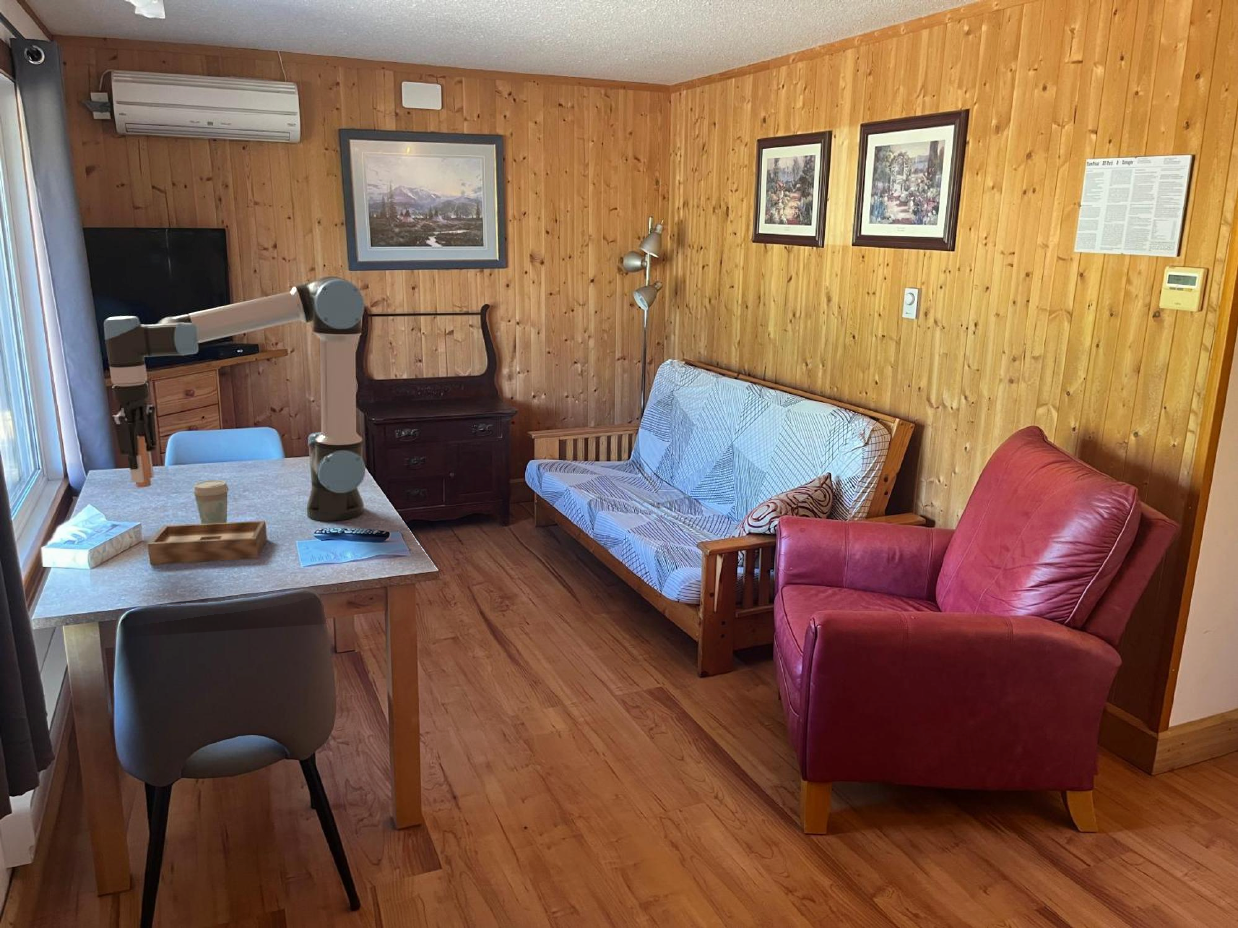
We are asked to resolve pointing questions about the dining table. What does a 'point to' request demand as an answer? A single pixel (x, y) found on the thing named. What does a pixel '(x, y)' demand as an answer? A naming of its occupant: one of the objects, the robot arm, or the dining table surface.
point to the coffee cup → (211, 501)
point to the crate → (207, 542)
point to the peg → (143, 462)
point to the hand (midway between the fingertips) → (143, 479)
